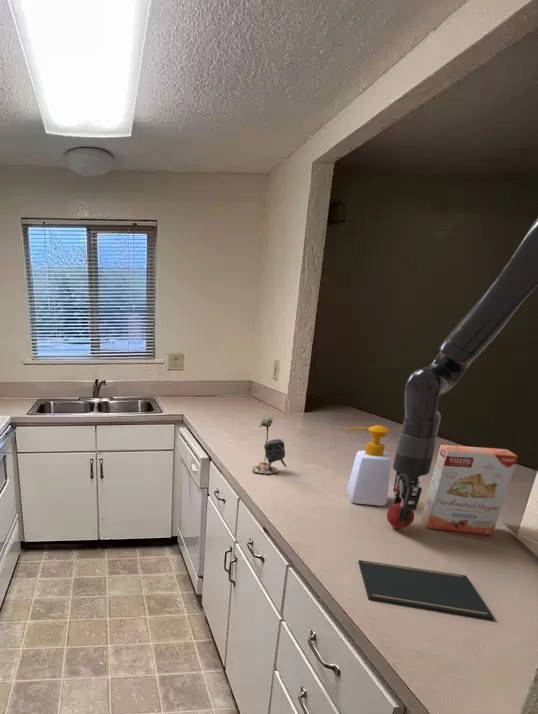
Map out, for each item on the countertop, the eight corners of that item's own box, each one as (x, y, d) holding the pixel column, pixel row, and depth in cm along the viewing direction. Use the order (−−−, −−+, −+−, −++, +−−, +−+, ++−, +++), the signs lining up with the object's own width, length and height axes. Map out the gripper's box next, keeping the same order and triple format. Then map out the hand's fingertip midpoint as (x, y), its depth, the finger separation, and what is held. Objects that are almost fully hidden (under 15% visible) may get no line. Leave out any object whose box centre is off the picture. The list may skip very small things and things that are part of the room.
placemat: (465, 577, 89) (466, 574, 89) (493, 620, 77) (494, 617, 77) (358, 562, 95) (358, 559, 95) (368, 599, 83) (369, 596, 83)
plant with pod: (283, 477, 145) (290, 419, 138) (249, 472, 150) (254, 416, 143) (286, 470, 152) (293, 414, 145) (254, 465, 156) (259, 411, 149)
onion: (412, 536, 106) (419, 506, 103) (385, 532, 108) (391, 502, 105) (409, 526, 111) (416, 497, 108) (383, 522, 113) (389, 494, 110)
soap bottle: (330, 490, 134) (341, 420, 126) (380, 495, 130) (394, 422, 122) (333, 502, 125) (345, 427, 118) (387, 508, 121) (403, 431, 114)
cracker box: (427, 529, 109) (447, 450, 102) (420, 519, 114) (439, 443, 107) (494, 537, 105) (519, 455, 98) (483, 526, 110) (507, 447, 103)
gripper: (442, 463, 95) (425, 531, 101) (424, 445, 108) (410, 506, 114) (403, 460, 97) (389, 527, 103) (390, 443, 110) (378, 503, 116)
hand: (400, 516), depth 108 cm, fingers closed on onion, 6 cm apart
